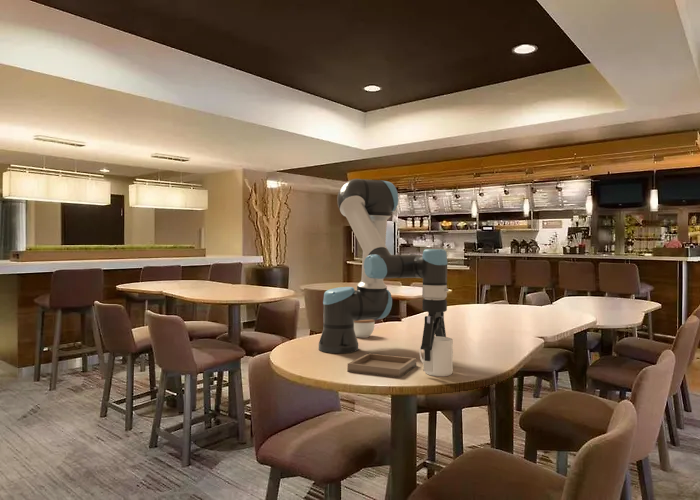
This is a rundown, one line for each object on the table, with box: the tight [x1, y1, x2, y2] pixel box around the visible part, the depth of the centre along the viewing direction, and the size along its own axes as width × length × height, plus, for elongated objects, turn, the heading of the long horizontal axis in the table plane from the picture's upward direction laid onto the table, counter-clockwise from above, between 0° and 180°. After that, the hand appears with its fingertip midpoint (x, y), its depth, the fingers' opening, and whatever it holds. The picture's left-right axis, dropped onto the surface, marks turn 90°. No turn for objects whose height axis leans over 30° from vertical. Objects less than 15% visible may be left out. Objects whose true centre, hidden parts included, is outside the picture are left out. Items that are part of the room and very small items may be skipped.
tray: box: [346, 353, 417, 379], centre depth 160 cm, size 17×17×2 cm
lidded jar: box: [354, 320, 376, 339], centre depth 219 cm, size 11×11×9 cm
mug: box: [418, 336, 454, 377], centre depth 156 cm, size 9×12×11 cm
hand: (434, 366), depth 156 cm, fingers open, 13 cm apart
